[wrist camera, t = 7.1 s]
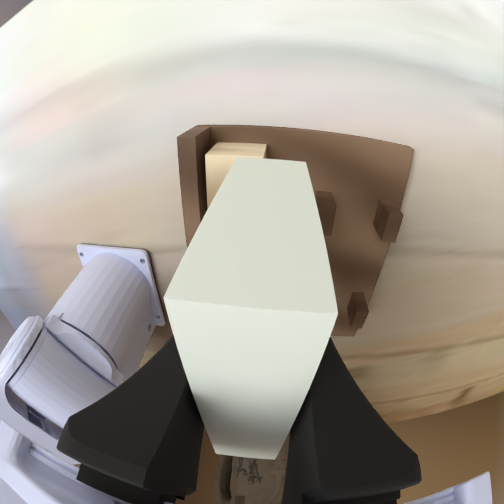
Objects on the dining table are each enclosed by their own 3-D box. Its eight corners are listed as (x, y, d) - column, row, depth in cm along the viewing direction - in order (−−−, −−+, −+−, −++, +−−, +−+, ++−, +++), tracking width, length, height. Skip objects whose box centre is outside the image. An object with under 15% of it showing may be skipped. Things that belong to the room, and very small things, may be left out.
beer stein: (282, 348, 28) (266, 537, 12) (343, 378, 31) (348, 528, 15) (208, 389, 36) (181, 517, 20) (266, 412, 39) (253, 526, 23)
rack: (352, 330, 26) (358, 361, 23) (211, 319, 27) (203, 350, 24) (409, 146, 15) (434, 163, 12) (197, 125, 16) (176, 137, 13)
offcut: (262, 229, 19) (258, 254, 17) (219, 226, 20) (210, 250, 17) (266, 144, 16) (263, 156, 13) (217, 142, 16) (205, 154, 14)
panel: (282, 334, 16) (274, 459, 10) (238, 331, 16) (215, 453, 10) (305, 161, 10) (338, 314, 4) (236, 157, 10) (163, 297, 4)
